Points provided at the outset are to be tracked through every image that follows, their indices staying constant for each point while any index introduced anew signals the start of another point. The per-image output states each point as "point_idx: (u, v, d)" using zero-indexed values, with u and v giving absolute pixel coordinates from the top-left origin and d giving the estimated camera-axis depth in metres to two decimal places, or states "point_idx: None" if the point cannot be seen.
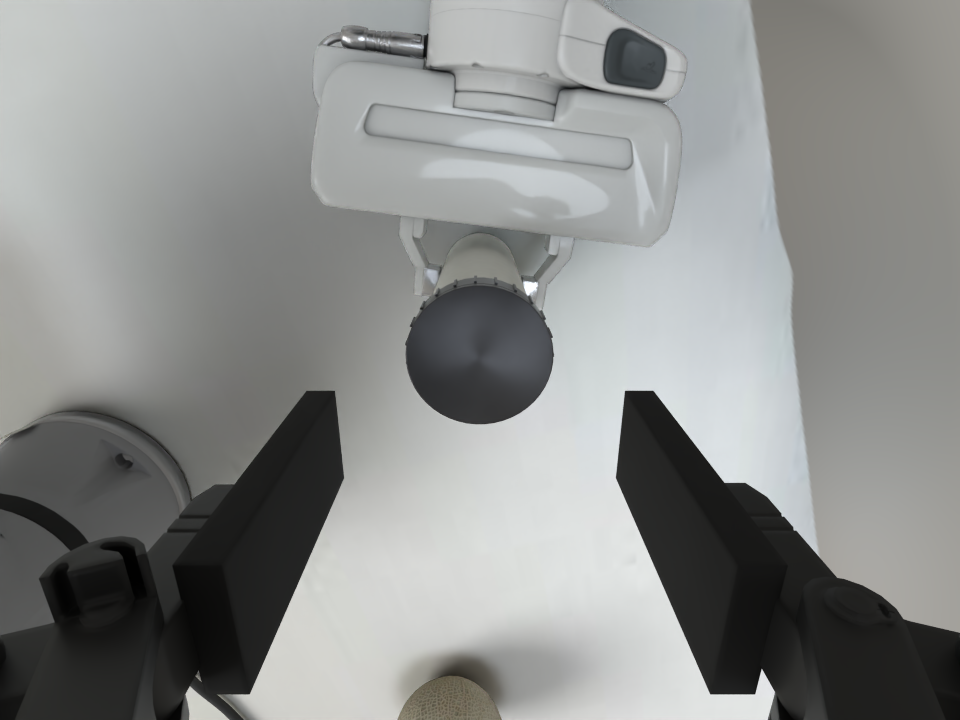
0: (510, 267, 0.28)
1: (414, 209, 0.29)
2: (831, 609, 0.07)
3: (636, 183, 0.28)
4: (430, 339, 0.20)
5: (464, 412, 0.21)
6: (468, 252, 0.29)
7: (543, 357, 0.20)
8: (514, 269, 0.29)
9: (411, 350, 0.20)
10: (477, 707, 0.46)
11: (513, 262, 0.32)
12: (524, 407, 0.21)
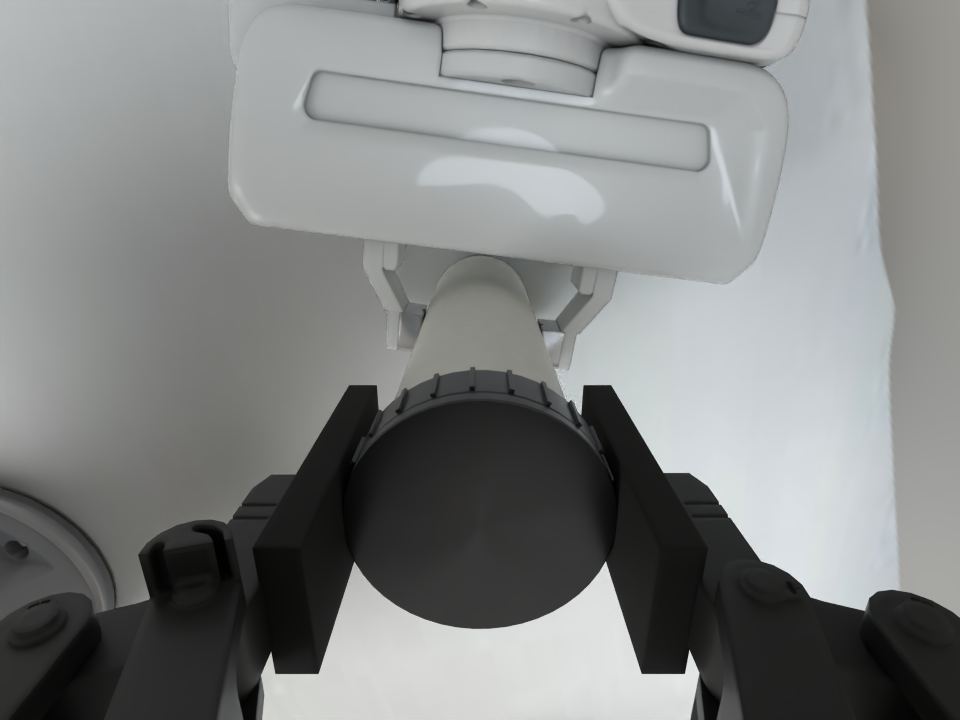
0: (526, 319, 0.18)
1: (383, 230, 0.20)
2: (744, 589, 0.08)
3: (714, 191, 0.19)
4: (387, 493, 0.11)
5: (452, 611, 0.12)
6: (463, 293, 0.20)
7: (599, 523, 0.11)
8: (531, 319, 0.19)
9: (352, 511, 0.11)
10: None
11: (527, 302, 0.22)
12: (561, 604, 0.12)
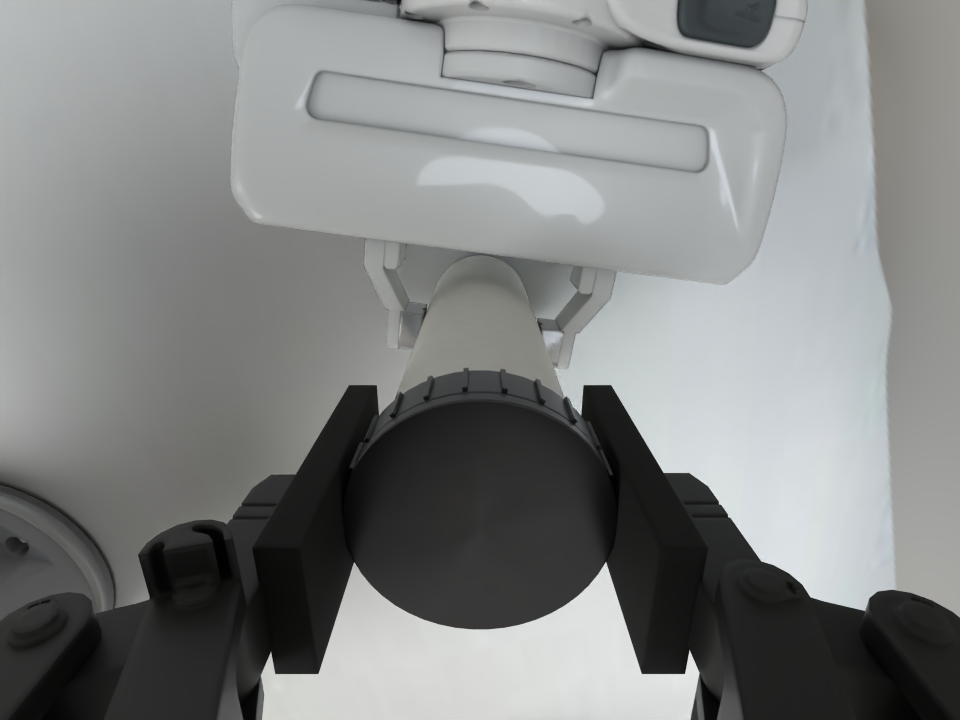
0: (526, 318, 0.18)
1: (384, 229, 0.20)
2: (745, 589, 0.08)
3: (713, 192, 0.19)
4: (455, 598, 0.12)
5: (593, 538, 0.11)
6: (463, 292, 0.20)
7: (462, 419, 0.10)
8: (531, 319, 0.19)
9: (479, 622, 0.12)
10: None
11: (527, 302, 0.22)
12: (577, 439, 0.10)
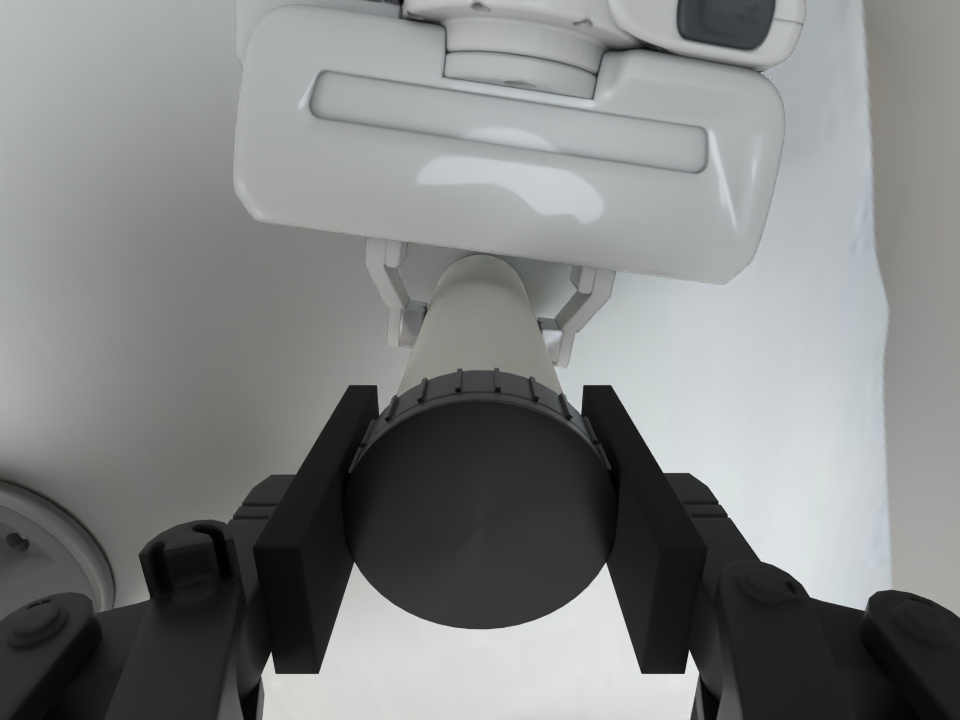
0: (526, 317, 0.19)
1: (386, 228, 0.20)
2: (744, 589, 0.08)
3: (712, 193, 0.19)
4: (575, 537, 0.11)
5: (483, 421, 0.10)
6: (464, 290, 0.20)
7: (366, 549, 0.11)
8: (531, 317, 0.20)
9: (608, 512, 0.11)
10: None
11: (527, 301, 0.23)
12: (366, 456, 0.10)
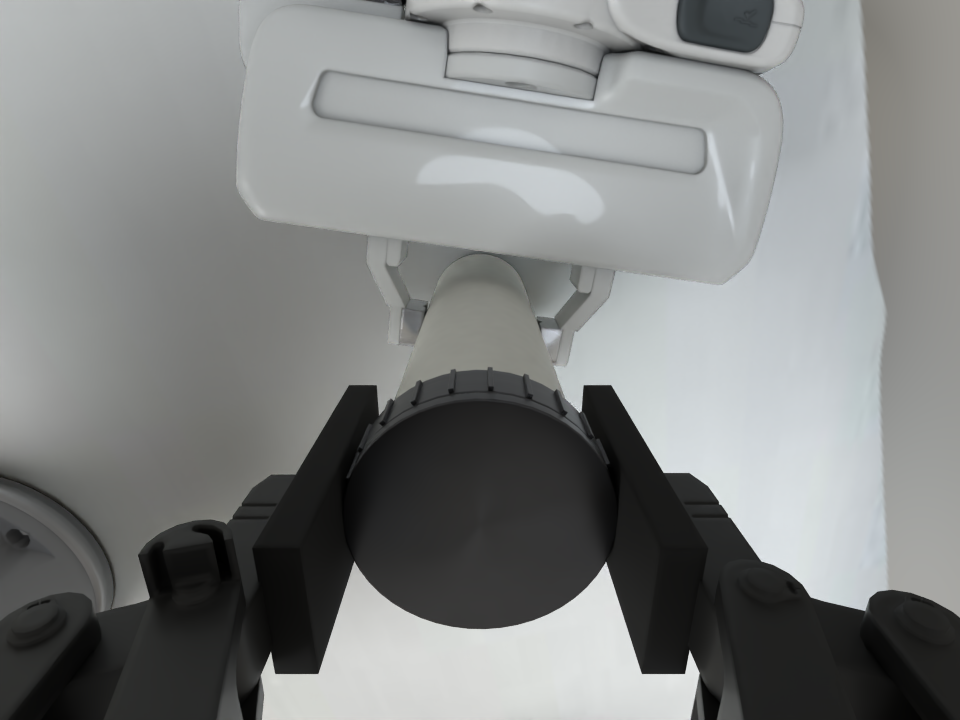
0: (526, 315, 0.19)
1: (387, 227, 0.20)
2: (745, 590, 0.08)
3: (710, 194, 0.20)
4: (484, 438, 0.10)
5: (366, 534, 0.11)
6: (464, 289, 0.20)
7: (520, 611, 0.12)
8: (531, 316, 0.20)
9: (448, 412, 0.10)
10: None
11: (527, 300, 0.23)
12: (418, 614, 0.12)
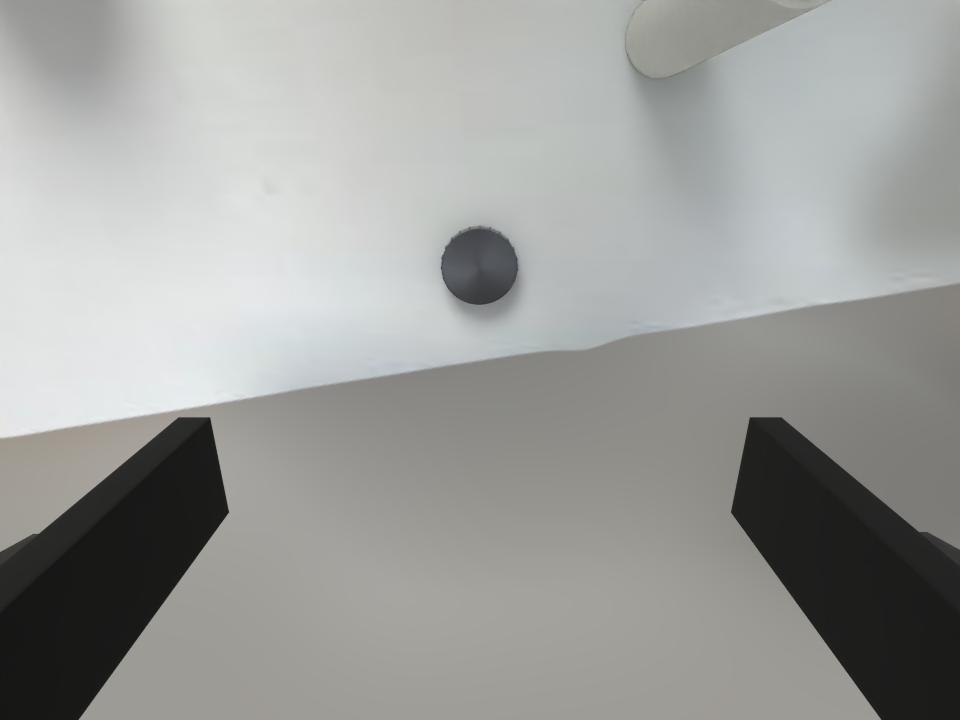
0: None
1: None
2: None
3: None
4: (452, 269, 0.39)
5: (485, 298, 0.40)
6: None
7: (508, 252, 0.39)
8: None
9: (446, 279, 0.40)
10: None
11: None
12: (512, 281, 0.40)
